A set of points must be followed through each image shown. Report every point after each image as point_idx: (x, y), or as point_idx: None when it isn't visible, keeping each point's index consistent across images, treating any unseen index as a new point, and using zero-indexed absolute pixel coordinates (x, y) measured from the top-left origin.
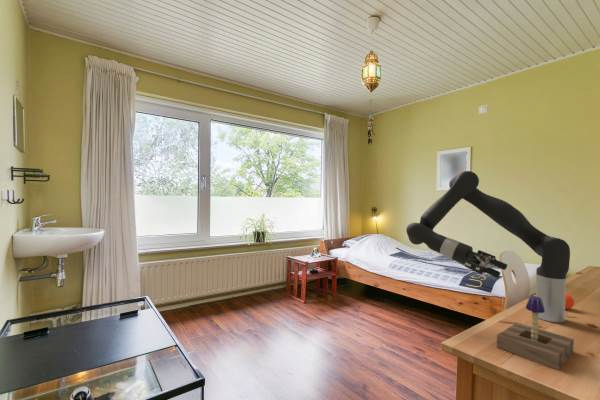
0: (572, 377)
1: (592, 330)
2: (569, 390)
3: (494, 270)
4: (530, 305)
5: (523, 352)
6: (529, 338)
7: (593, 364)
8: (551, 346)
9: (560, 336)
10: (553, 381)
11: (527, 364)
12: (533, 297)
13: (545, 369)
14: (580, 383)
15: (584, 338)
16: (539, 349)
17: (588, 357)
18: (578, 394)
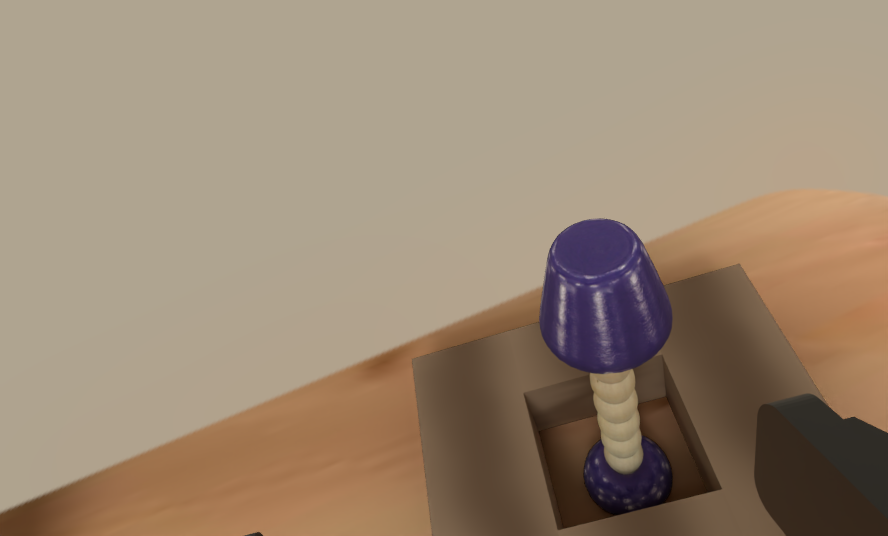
0: (736, 263)
1: (16, 512)
2: (869, 210)
3: (884, 460)
4: (664, 293)
5: None
6: (560, 525)
7: (499, 306)
8: None
9: (443, 396)
10: (877, 258)
11: (868, 378)
12: (614, 249)
13: (805, 326)
14: (753, 232)
15: (184, 468)
16: (777, 327)
17: (438, 346)
18: (857, 192)
